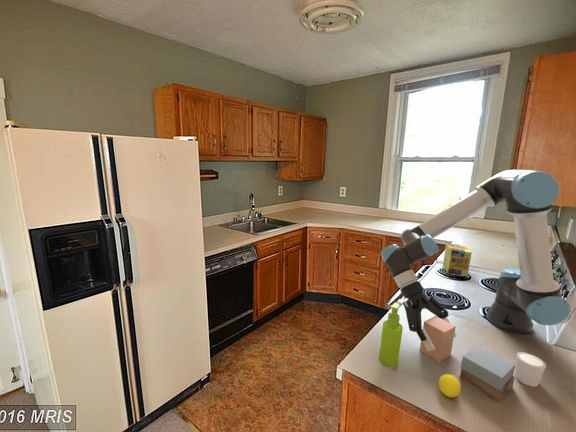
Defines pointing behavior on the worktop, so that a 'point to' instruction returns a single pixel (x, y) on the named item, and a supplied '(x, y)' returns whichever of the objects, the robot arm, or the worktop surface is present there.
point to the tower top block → (488, 366)
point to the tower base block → (486, 385)
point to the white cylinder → (529, 369)
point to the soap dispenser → (391, 338)
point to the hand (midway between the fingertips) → (443, 343)
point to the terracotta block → (439, 338)
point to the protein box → (457, 259)
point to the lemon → (449, 385)
